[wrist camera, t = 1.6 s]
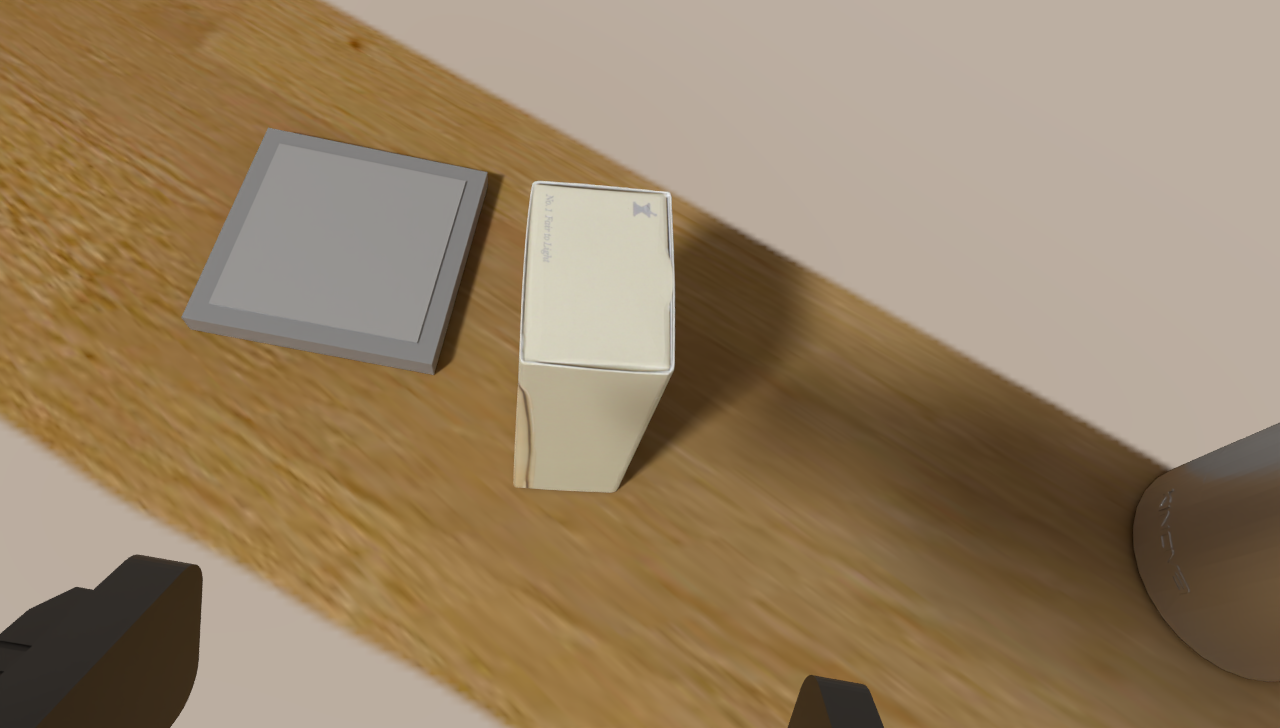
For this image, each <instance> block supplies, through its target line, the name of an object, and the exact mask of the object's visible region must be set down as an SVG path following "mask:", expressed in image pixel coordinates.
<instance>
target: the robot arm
mask: <svg viewBox="0 0 1280 728" xmlns="http://www.w3.org/2000/svg"><path fill="white" fill-rule="evenodd" d="M1133 544H1134V552H1135V557H1136V561H1137V566H1138V570H1139V573H1140V575H1141V578H1142V580H1143V583H1144V585H1145V587H1146V590H1147V592H1148V595H1149V596H1150V598H1151V600H1152V601H1153V603H1154V604H1155V606H1156V608H1157V609H1158V611H1159V613H1160V614H1161V616H1162V617H1163V619H1164V620H1165V621H1166V622H1167V623H1168V624H1169V626H1170V627H1171V628H1172V629H1173V630H1174V631H1175V633H1176V634H1177V635H1178V636H1179V637H1180V638H1181V639H1182V640H1183V641H1184V642H1185V643H1186V644H1188V645H1189V646H1190V647H1191V648H1192V649H1193V650H1194V651H1196V652H1197V653H1198V654H1199V655H1200V656H1202V657H1203V658H1205V659H1207V660H1208V661H1210V662H1212V663H1213V664H1215V665H1216V666H1218V667H1220V668H1221V669H1223V670H1226V671H1228V672H1231V673H1233V674H1236V675H1238V676H1241V677H1244V678H1247V679H1253V680H1259V681H1265V682H1274V681H1280V423H1278V424H1276V425H1273V426H1271V427H1269V428H1266V429H1264V430H1262V431H1259V432H1257V433H1255V434H1253V435H1250V436H1248V437H1246V438H1243V439H1241V440H1238V441H1236V442H1234V443H1231V444H1229V445H1227V446H1224V447H1222V448H1220V449H1218V450H1215V451H1213V452H1211V453H1208V454H1207V455H1204V456H1202V457H1199V458H1197V459H1195V460H1192V461H1190V462H1188V463H1186V464H1183V465H1181V466H1179V467H1176V468H1174V469H1172V470H1170V471H1168V472H1167V473H1165V474H1163V475H1162V476H1160V477H1158V478H1157V479H1156V480H1155V481H1154V482H1153V483H1152V484H1151V485H1150V486H1149V487H1148V488H1147V489H1146V491H1145V492H1144V494H1143V496H1142V498H1141V500H1140V502H1139V504H1138V506H1137V509H1136V514H1135V519H1134V524H1133ZM202 581H203V578H202V572H201V569H200V568H199V566H198V565H194V564H189V563H183V562H178V561H172V560H166V559H161V558H155V557H149V556H144V555H133V556H131V557H129V558H128V559H127V560H125V561H124V562H123V563H122V564H121V565H120V566H119V567H118V568H117V569H116V570H115V571H113V572H112V573H111V574H110V575H109V576H108V577H107V578H106V579H105V580H104V581H102V583H100V584H99V585H98V586H97V587H96V588H95V589H94V590H91V589H85V588H79V587H75V588H73V589H71V590H69V591H67V592H64V593H62V594H60V595H58V596H56V597H54V598H52V599H50V600H48V601H46V602H44V603H41V604H39V605H37V606H35V607H33V608H31V609H29V610H28V611H26V612H25V613H24V614H23V615H22V616H21V617H19V618H18V619H17V620H16V621H15V622H13V624H11V625H10V626H9V627H8V628H6V629H5V630H4V631H3V632H2V633H1V634H0V728H170V727H171V726H172V724H173V723H174V722H175V720H176V719H177V717H178V716H179V714H180V713H181V711H182V709H183V708H184V706H185V704H186V702H187V700H188V698H189V695H190V693H191V690H192V688H193V684H194V681H195V678H196V674H197V669H198V661H199V642H200V622H201V603H202ZM788 728H884V726H883V724H882V721H881V719H880V716H879V714H878V711H877V708H876V706H875V703H874V701H873V698H872V696H871V693H870V691H869V689H868V688H867V686H865V685H864V684H859V683H853V682H848V681H842V680H836V679H831V678H825V677H819V676H814V675H809V676H808V677H807V678H806V679H805V680H804V682H803V684H802V687H801V689H800V692H799V695H798V698H797V701H796V704H795V707H794V710H793V713H792V716H791V719H790V722H789V725H788Z"/></svg>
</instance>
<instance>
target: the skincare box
mask: <svg viewBox="0 0 1280 728" xmlns="http://www.w3.org/2000/svg"><path fill="white" fill-rule="evenodd" d="M674 366H675V271H674V244H673V221H672V197H671V194H670V192H663V191H652V190H642V189H632V188H622V187H612V186H601V185H590V184H579V183H564V182H550V181H535V182H534V183H533V184H532V189H531V196H530V203H529V211H528V220H527V230H526V242H525V255H524V269H523V285H522V304H521V325H520V352H519V377H518V396H517V415H516V435H515V455H514V486H515V487H519V488H533V489H548V490H566V491H586V492H610V493H612V492H616V490H617V489H618V488H619V485H620V483H621V481H622V479H623V477H624V475H625V472H626V470H627V468H628V466H629V464H630V462H631V460H632V458H633V456H634V454H635V451H636V449H637V447H638V445H639V443H640V441H641V439H642V437H643V434H644V432H645V430H646V428H647V426H648V424H649V422H650V420H651V417H652V415H653V413H654V411H655V409H656V407H657V405H658V403H659V401H660V399H661V397H662V394H663V392H664V390H665V388H666V386H667V384H668V382H669V379H670V377H671V375H672V373H673V371H674Z"/></svg>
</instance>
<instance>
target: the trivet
mask: <svg viewBox="0 0 1280 728" xmlns="http://www.w3.org/2000/svg"><path fill="white" fill-rule="evenodd" d="M487 188H488V175H487V172H483V171H478V170H473V169H469V168H464V167H459V166H454V165H449V164H444V163H439V162H434V161H429V160H424V159H419V158H414V157H410V156H405V155H400V154H395V153H390V152H385V151H380V150H375V149H370V148H365V147H360V146H355V145H350V144H346V143H341V142H336V141H331V140H326V139H321V138H316V137H311V136H306V135H301V134H296V133H291V132H287V131H282V130H277V129H272V128H268V129H267V132H266V134H265V136H264V138H263V140H262V142H261V145H260V147H259V149H258V151H257V153H256V156H255V158H254V160H253V162H252V164H251V167H250V169H249V171H248V173H247V175H246V177H245V180H244V182H243V184H242V186H241V188H240V191H239V193H238V195H237V197H236V199H235V202H234V204H233V206H232V208H231V210H230V212H229V215H228V217H227V219H226V221H225V223H224V226H223V228H222V230H221V232H220V234H219V237H218V239H217V241H216V243H215V245H214V247H213V250H212V252H211V254H210V256H209V258H208V261H207V263H206V265H205V267H204V269H203V272H202V274H201V276H200V278H199V280H198V282H197V285H196V287H195V289H194V291H193V293H192V296H191V298H190V300H189V302H188V304H187V307H186V309H185V311H184V313H183V315H182V319H183V320H184V321H185V323H186V324H187V325H188V327H189V328H190V329H192V330H197V331H203V332H208V333H213V334H219V335H224V336H229V337H235V338H240V339H245V340H251V341H256V342H261V343H267V344H272V345H277V346H282V347H288V348H293V349H298V350H304V351H309V352H314V353H320V354H325V355H330V356H336V357H341V358H346V359H352V360H357V361H362V362H368V363H373V364H378V365H384V366H389V367H394V368H400V369H405V370H410V371H416V372H421V373H426V374H432V375H434V373H435V370H436V366H437V363H438V359H439V356H440V352H441V349H442V345H443V342H444V338H445V335H446V331H447V328H448V324H449V321H450V317H451V314H452V310H453V307H454V303H455V300H456V296H457V293H458V289H459V286H460V282H461V279H462V275H463V272H464V268H465V265H466V261H467V258H468V254H469V251H470V247H471V244H472V240H473V237H474V233H475V230H476V226H477V223H478V219H479V216H480V212H481V209H482V205H483V202H484V198H485V195H486V191H487Z"/></svg>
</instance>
